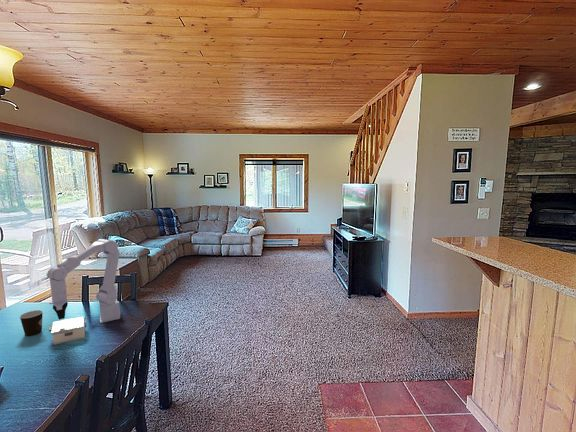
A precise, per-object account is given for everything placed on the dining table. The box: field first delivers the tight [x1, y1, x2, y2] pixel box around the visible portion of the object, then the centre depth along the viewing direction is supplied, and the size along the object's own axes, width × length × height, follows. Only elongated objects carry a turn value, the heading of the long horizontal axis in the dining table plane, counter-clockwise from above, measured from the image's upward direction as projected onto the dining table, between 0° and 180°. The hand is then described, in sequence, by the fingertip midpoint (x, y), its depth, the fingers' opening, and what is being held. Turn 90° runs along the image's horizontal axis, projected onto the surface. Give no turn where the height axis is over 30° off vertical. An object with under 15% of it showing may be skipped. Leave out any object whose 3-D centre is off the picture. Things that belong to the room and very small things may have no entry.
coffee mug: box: [19, 309, 44, 337], centre depth 151 cm, size 12×9×10 cm
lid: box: [48, 316, 85, 335], centre depth 147 cm, size 14×12×1 cm
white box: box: [52, 316, 87, 346], centre depth 148 cm, size 13×15×5 cm
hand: (61, 318), depth 145 cm, fingers closed
